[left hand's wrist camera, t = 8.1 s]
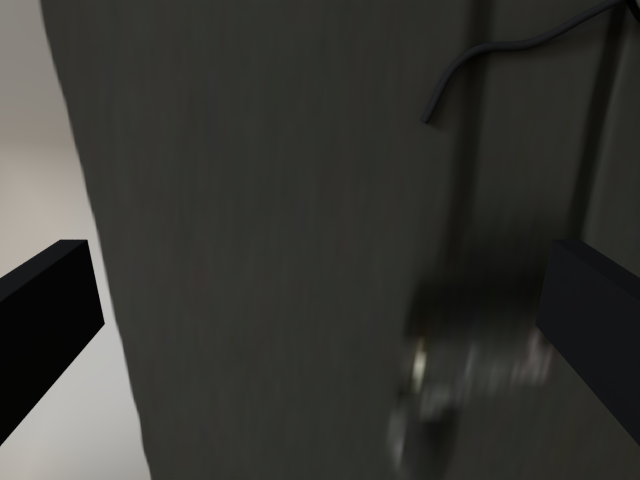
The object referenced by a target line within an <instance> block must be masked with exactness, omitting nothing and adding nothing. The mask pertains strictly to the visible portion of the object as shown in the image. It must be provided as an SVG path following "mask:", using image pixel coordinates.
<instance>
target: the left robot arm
mask: <svg viewBox="0 0 640 480" xmlns="http://www.w3.org/2000/svg"><path fill="white" fill-rule="evenodd" d="M623 1H625V0H606V1H604V2H602V3H600V4H598V5H596V6H594V7H593V8H591V9H589V10H587V11H585V12H583V13H581V14H579V15H577V16H576V17H574V18H572V19H570V20H569V21H567V22H565V23H563V24H562V25H560V26H558V27H556V28H555V29H553V30H551V31H549V32H547V33H545V34H542V35H540V36H538V37H535V38H532V39H529V40H524V41H517V42H490V43H484V44H480V45H477V46H475V47H473V48H471V49H469V50H467V51H466V52H464V53H463V54H462V55H460V56H459V57H458V58H457V59H456V60H455V61H454V62H453V63H452V64H451V65H450V66H449V68H448V69H447V70H446V72H445V73H444V75H443V77H442V78H441V80H440V82H439V84H438V86H437V88H436V90H435V92H434V95H433V97H432V99H431V101H430V103H429V105H428V107H427V109H426V111H425V113H424V115H423V117H422V118H421V121H422V122H424V123H426V124H427V123H428V122H429V120H430V118H431V117H432V115H433V113H434V111H435V109H436V107H437V105H438V103H439V101H440V99H441V96H442V94H443V92H444V90H445V88H446V86H447V84H448V82H449V81H450V79H451V77H452V76H453V75H454V73H455V72H456V71H457V70H458V68H459V67H460V66H461V65H462V64H463V63H465V62H466V61H467V60H469V59H470V58H472V57H473V56H475V55H477V54H480V53H483V52H487V51H510V50H522V49H527V48H531V47H535V46H537V45H540V44H543V43H545V42H547V41H549V40H552V39H554V38H556V37H557V36H559V35H561V34H563V33H565V32H566V31H568V30H570V29H572V28H573V27H575V26H577V25H579V24H581V23H582V22H584V21H586V20H588V19H590V18H592V17H594V16H596V15H598V14H600V13H602V12H604V11H606V10H607V9H609V8H611V7H613V6H615V5H617V4H619V3H621V2H623ZM626 2H627V4H628V6H629V8H630V10H631V12H632V14H633V15H634V17H635V18H636V19H637V21H638V22H639V23H640V0H626ZM104 324H105V322H104V318H103V313H102V308H101V303H100V298H99V294H98V289H97V284H96V279H95V274H94V269H93V265H92V260H91V255H90V250H89V245H88V240H59V241H57V242H56V243H54V244H53V245H51V246H50V247H48V248H46V249H45V250H43V251H42V252H40V253H39V254H37V255H36V256H34V257H32V258H31V259H29V260H28V261H26V262H25V263H23V264H22V265H20V266H18V267H17V268H15V269H14V270H12V271H11V272H9V273H8V274H6V275H4V276H3V277H1V278H0V446H1V445H2V444H3V442H4V441H5V440H6V439H7V438H8V437H9V435H10V434H11V433H12V432H13V431H14V430H15V428H16V427H17V426H18V425H19V424H20V423H21V421H22V420H23V419H24V418H25V417H26V416H27V414H28V413H29V412H30V411H31V410H32V409H33V407H34V406H35V405H36V404H37V403H38V401H39V400H40V399H41V398H42V397H43V396H44V395H45V393H46V392H47V391H48V390H49V389H50V387H51V386H52V385H53V384H54V383H55V382H56V380H57V379H58V378H59V377H60V376H61V375H62V373H63V372H64V371H65V370H66V369H67V368H68V366H69V365H70V364H71V363H72V362H73V361H74V359H75V358H76V357H77V356H78V355H79V354H80V352H81V351H82V350H83V349H84V348H85V347H86V345H87V344H88V343H89V342H90V341H91V340H92V338H93V337H94V336H95V335H96V334H97V333H98V331H99V330H100V329H101V328H102V327H103V326H104ZM535 324H536V326H537V327H538V328H539V329H540V330H541V331H542V333H543V334H544V335H545V336H546V337H547V338H548V340H549V341H550V342H551V343H552V344H553V345H554V347H555V348H556V349H557V350H558V351H559V352H560V354H561V355H562V356H563V357H564V358H565V359H566V361H567V362H568V363H569V364H570V365H571V366H572V368H573V369H574V370H575V371H576V372H577V373H578V375H579V376H580V377H581V378H582V379H583V380H584V382H585V383H586V384H587V385H588V386H589V388H590V389H591V390H592V391H593V392H594V393H595V395H596V396H597V397H598V398H599V399H600V400H601V402H602V403H603V404H604V405H605V406H606V407H607V409H608V410H609V411H610V412H611V413H612V414H613V416H614V417H615V418H616V419H617V420H618V421H619V423H620V424H621V425H622V426H623V427H624V428H625V430H626V431H627V432H628V433H629V434H630V435H631V437H632V438H633V439H634V440H635V441H636V442H637V444H638V445H639V446H640V278H639V277H637V276H636V275H634V274H632V273H631V272H629V271H628V270H626V269H625V268H623V267H622V266H620V265H618V264H617V263H615V262H614V261H612V260H611V259H609V258H608V257H606V256H604V255H603V254H601V253H600V252H598V251H597V250H595V249H594V248H592V247H590V246H589V245H587V244H586V243H584V242H583V241H581V240H552V245H551V250H550V255H549V260H548V265H547V269H546V274H545V279H544V284H543V289H542V293H541V298H540V303H539V308H538V313H537V318H536V322H535Z"/></svg>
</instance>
